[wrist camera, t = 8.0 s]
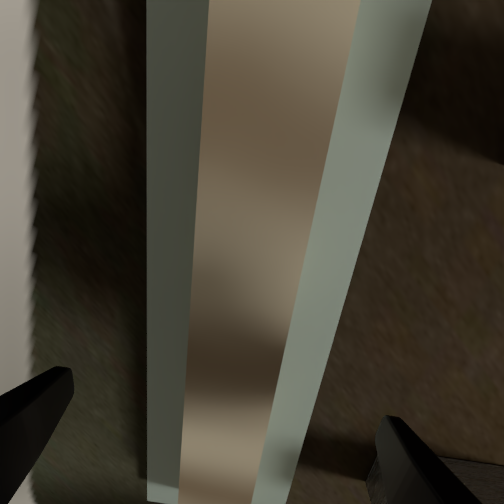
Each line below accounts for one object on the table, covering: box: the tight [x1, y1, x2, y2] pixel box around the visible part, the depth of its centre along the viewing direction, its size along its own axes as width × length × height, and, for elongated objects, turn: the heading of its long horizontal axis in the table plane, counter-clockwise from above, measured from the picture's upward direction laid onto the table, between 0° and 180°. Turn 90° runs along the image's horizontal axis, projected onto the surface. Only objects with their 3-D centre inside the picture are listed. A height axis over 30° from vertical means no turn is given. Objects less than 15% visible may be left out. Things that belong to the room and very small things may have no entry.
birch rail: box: [178, 0, 361, 504], centre depth 11 cm, size 24×3×3 cm, turn 172°
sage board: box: [146, 0, 432, 504], centre depth 13 cm, size 27×8×1 cm, turn 172°
